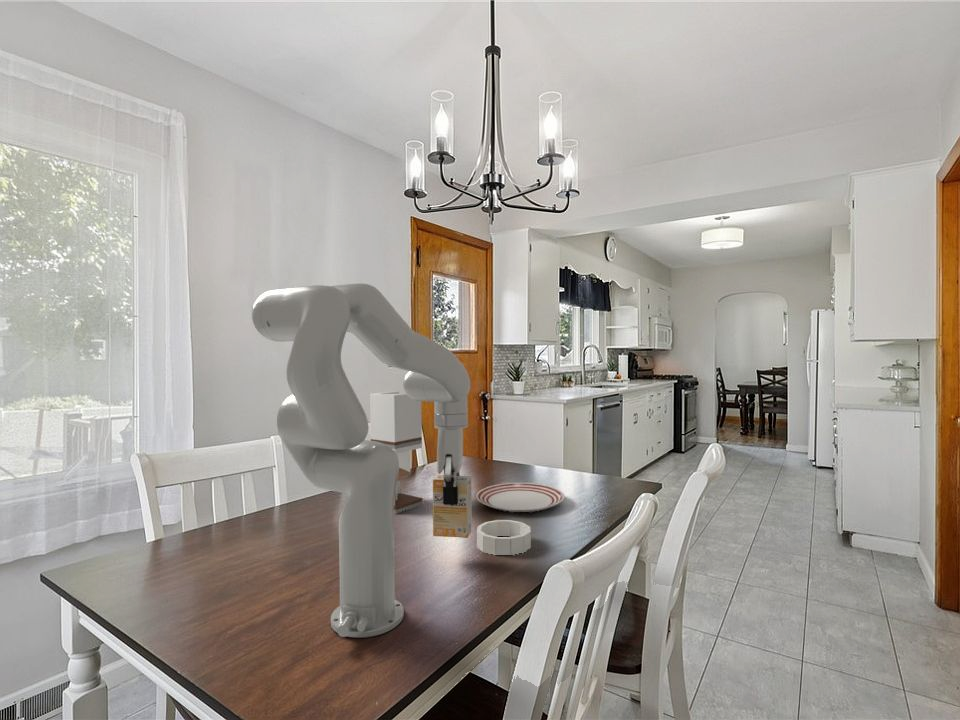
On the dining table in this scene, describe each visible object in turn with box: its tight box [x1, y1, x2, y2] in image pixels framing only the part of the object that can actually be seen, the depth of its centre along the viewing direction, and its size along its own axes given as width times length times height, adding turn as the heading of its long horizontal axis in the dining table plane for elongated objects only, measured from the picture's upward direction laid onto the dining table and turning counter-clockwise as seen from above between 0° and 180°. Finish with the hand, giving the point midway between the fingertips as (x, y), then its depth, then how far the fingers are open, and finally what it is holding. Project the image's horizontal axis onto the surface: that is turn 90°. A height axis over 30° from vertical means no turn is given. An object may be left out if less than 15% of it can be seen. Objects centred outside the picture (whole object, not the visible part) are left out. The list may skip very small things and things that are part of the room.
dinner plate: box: [475, 482, 566, 513], centre depth 157 cm, size 27×27×3 cm
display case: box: [369, 390, 424, 515], centre depth 156 cm, size 11×11×35 cm
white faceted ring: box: [476, 519, 532, 556], centre depth 123 cm, size 13×13×4 cm
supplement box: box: [432, 473, 473, 539], centre depth 114 cm, size 8×5×13 cm, turn 79°
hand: (452, 499), depth 114 cm, fingers closed on supplement box, 5 cm apart
